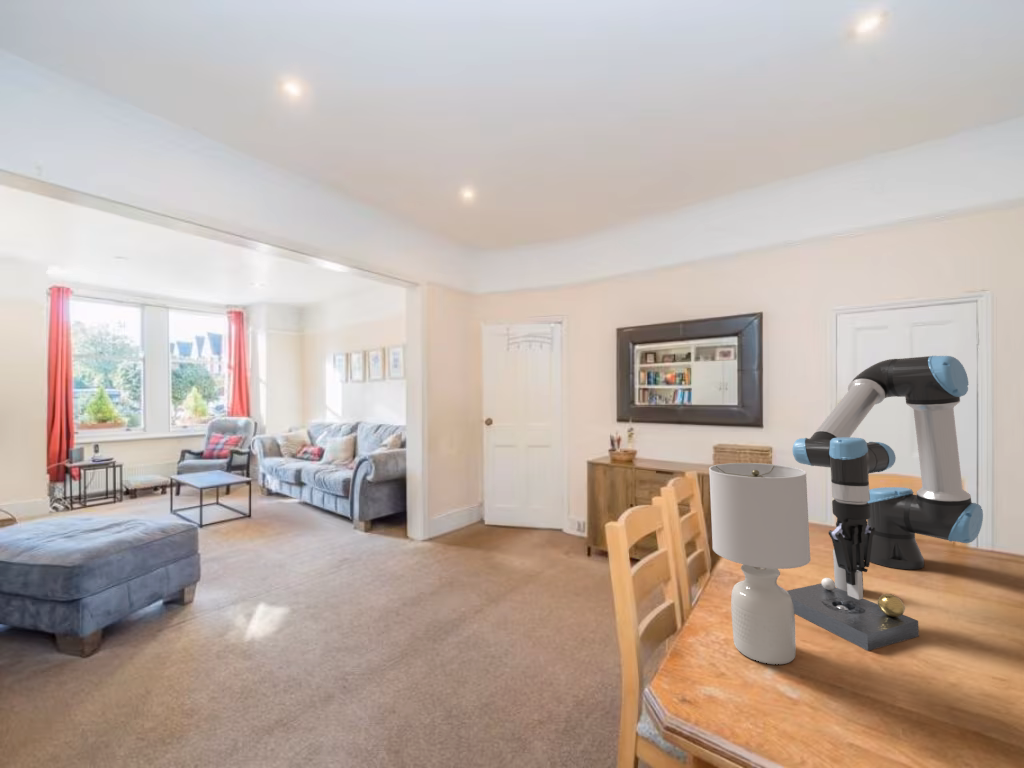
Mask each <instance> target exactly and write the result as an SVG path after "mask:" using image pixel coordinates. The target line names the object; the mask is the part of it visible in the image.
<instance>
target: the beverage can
mask: <svg viewBox="0 0 1024 768" xmlns="http://www.w3.org/2000/svg"><path fill="white" fill-rule="evenodd" d="M832 556H833V576H834V582H835V587H836V588H839V589H841V590H844V591H846V592H847V582H846V571H845V569H842V568H839V567H838V564H837V559H836V555H835V551H834V548H833V549H832ZM863 572H864V571H862V573H863ZM863 574H864V573H863ZM862 585H863V586H864V582H863V583H862Z"/></svg>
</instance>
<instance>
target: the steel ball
mask: <svg viewBox="0 0 1024 768" xmlns="http://www.w3.org/2000/svg"><path fill="white" fill-rule="evenodd" d="M836 607H837V608H840V609H844V610H849V609H848V608H847V607H845V606H843V605H838V606H836Z"/></svg>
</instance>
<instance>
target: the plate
mask: <svg viewBox="0 0 1024 768" xmlns="http://www.w3.org/2000/svg"><path fill="white" fill-rule="evenodd" d="M786 591H787V592H788V593H789V594H790V596H791V598H792V601H793V606H794V614H795V615H797V616H798V617H801V618H802V619H805V620H806V621H808V622H810V623H812V624H814V625H816V626H818V627H820V628H822V629H824V630H826V631H828V632H830V633H832V634H834V635H836V636H838V637H840V638H842V639H844V640H846V641H847V642H850V643H851V644H854V645H855V646H858V647H859V648H862V649H864V650H866V651H868V652H870V651H871V650H876V649H880V648H883V647H887V646H889V645H894V644H896V643H900V642H903V641H904V642H905V641H907V640H910V639H915V638H917V637H918V638H919V636H920V635H919V634H920V631H919V620H917V619H915V618H913V617H911V616H908V615H906V614H904V613H903V614H902V615H901V616H899V617H891V616H888V615H886V614H884V613H883V612H882V611H881V610H880V608H879V606H878V603H875V602H873V601H871V600H868V599H866V598H863V599H860V600H858V599H855V598H853V597H851V596H848V594H847V592H846V591H844V590H841V589H839V588H837V587H836V586H835V588H834V589H833V590H827V589H825V588H824V587H823V586H822V584H821V583H816V584H812V585H808V586H801V587H798V588H794V589H788V590H786ZM838 605H843V606H845V607H847V608H848V609H849V610H844V609H840V608H837V607H836V606H838Z"/></svg>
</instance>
